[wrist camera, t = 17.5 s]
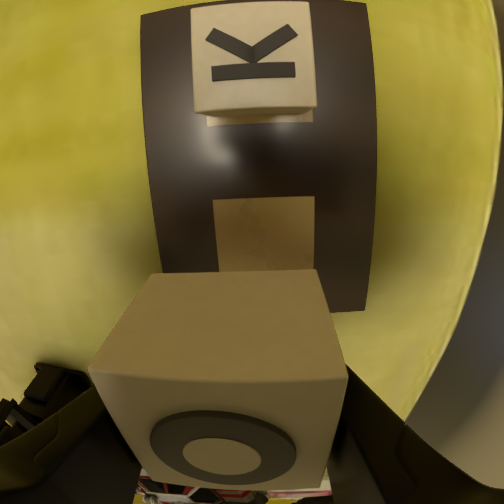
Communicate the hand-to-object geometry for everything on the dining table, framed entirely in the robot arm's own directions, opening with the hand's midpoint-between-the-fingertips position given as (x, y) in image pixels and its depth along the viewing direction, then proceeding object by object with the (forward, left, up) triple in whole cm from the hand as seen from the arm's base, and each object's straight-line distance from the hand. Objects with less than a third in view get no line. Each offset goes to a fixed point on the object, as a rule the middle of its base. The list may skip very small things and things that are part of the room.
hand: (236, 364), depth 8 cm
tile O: (0, 0, -1) cm, 1 cm away
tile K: (+9, -1, -9) cm, 13 cm away
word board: (+4, -1, -10) cm, 11 cm away
